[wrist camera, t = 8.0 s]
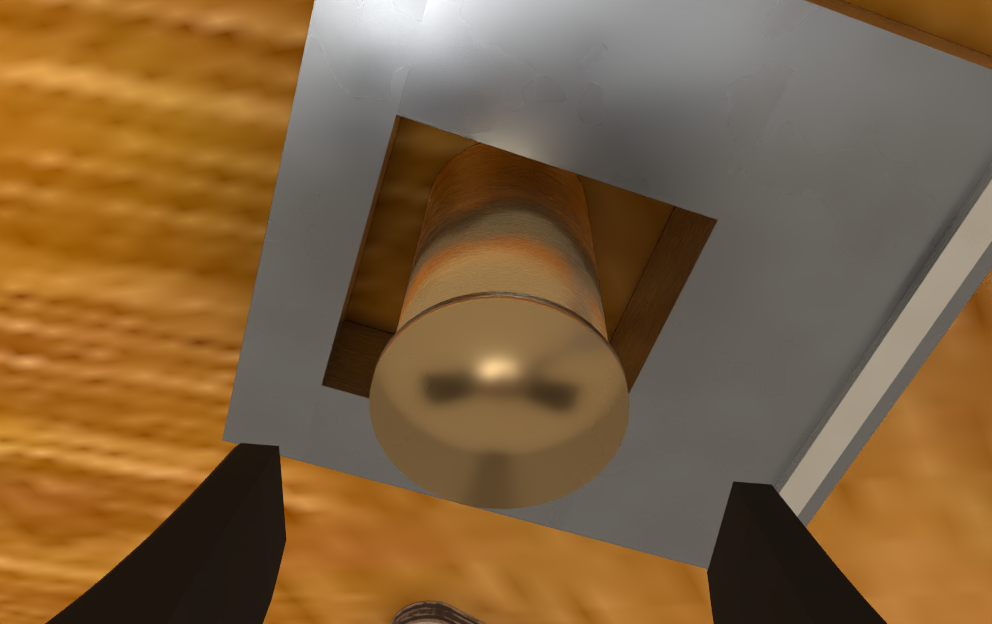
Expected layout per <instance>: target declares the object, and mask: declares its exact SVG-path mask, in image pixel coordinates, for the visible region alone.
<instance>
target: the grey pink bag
mask: <svg viewBox="0 0 992 624" xmlns="http://www.w3.org/2000/svg"><path fill="white" fill-rule="evenodd" d="M392 624H484V623H483V622H481V621H479V620H477V619H475V618H473V617H471V616H469V615H467V614H465V613H464V612H462V611H460V610H458V609H456V608H454V607H452V606H450V605H447V604H444V603H441V602H435V601H424V602H418V603H414V604H411V605H409V606H407V607H405V608H403V609H402V610H401V611H400V612H398V613H397V614H396V615H395V617H394V619H393V621H392Z"/></svg>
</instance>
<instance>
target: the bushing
mask: <svg viewBox="0 0 992 624" xmlns="http://www.w3.org/2000/svg"><path fill="white" fill-rule="evenodd" d="M369 409H370V418H371V422H372V426H373V430H374V433H375V435H376V437H377V440H378V442H379V444H380V446H381V447H382V449H383V450H384V452H385V454H386V455H387V457H388V458H389V459H390V460H391V461H392V463H393V464H394V465H395V466H396V467H397V468H398V469H399V470H400V471H401V472H402V473H403V474H404V475H405V476H406V477H408V478H409V479H410V480H412V481H413V482H414V483H416V484H417V485H419V486H420V487H422V488H424V489H426V490H427V491H429V492H431V493H433V494H435V495H438V496H440V497H442V498H444V499H447V500H450V501H453V502H456V503H459V504H464V505H468V506H473V507H480V508H488V509H515V508H525V507H530V506H536V505H540V504H544V503H547V502H551V501H554V500H556V499H559V498H561V497H564V496H566V495H568V494H570V493H572V492H574V491H576V490H578V489H579V488H581V487H582V486H584V485H585V484H587V483H588V482H590V481H591V480H592V479H593V478H594V477H596V476H597V475H598V474H599V473H600V472H601V471H602V470H603V469H604V468H605V467H606V466H607V464H608V463H609V462H610V461H611V460H612V458H613V457H614V455H615V454H616V452H617V451H618V449H619V447H620V445H621V443H622V440H623V438H624V436H625V432H626V429H627V425H628V419H629V410H630V407H629V394H628V388H627V383H626V378H625V374H624V370H623V368H622V365H621V363H620V360H619V358H618V356H617V354H616V353H615V351H614V349H613V348H612V346H611V345H610V343H609V342H608V337H607V330H606V324H605V317H604V311H603V304H602V298H601V291H600V285H599V278H598V272H597V265H596V259H595V252H594V246H593V239H592V233H591V226H590V220H589V214H588V207H587V201H586V197H585V193H584V190H583V187H582V185H581V183H580V181H579V179H578V177H577V175H576V174H575V173H573V172H570V171H567V170H564V169H561V168H558V167H555V166H552V165H549V164H546V163H542V162H539V161H536V160H533V159H530V158H527V157H524V156H521V155H518V154H515V153H512V152H509V151H506V150H503V149H500V148H497V147H494V146H491V145H487V144H484V143H479V144H476V145H474V146H471V147H469V148H467V149H466V150H464V151H462V152H460V153H459V154H458V155H456V156H455V157H454V158H452V159H451V160H450V161H449V162H448V163H447V164H446V165H445V166H444V168H443V169H442V170H441V172H440V173H439V174H438V176H437V178H436V180H435V181H434V184H433V186H432V188H431V191H430V195H429V199H428V203H427V207H426V211H425V216H424V220H423V224H422V228H421V232H420V236H419V240H418V245H417V249H416V253H415V257H414V261H413V265H412V269H411V273H410V278H409V282H408V286H407V290H406V294H405V298H404V302H403V307H402V311H401V315H400V319H399V323H398V327H397V331H396V333H395V335H394V336H393V337H392V338H391V339H390V340H389V342H388V343H387V345H386V347H385V348H384V350H383V352H382V353H381V355H380V358H379V360H378V363H377V365H376V368H375V372H374V376H373V380H372V384H371V388H370V397H369Z"/></svg>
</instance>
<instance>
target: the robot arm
mask: <svg viewBox="0 0 992 624" xmlns="http://www.w3.org/2000/svg"><path fill="white" fill-rule="evenodd" d="M285 542H286V530H285V517H284V504H283V490H282V477H281V464H280V451H279V446H274V445H261V444H249V443H240V444H239V445H237V446H236V447H235V448H234V449H233V450H232V451H231V452H230V453H229V454H228V455H227V456H226V457H225V459H224V460H223V461H222V462H221V463H220V464H219V465H218V466H217V467H216V468H215V469H214V471H213V472H212V473H211V474H210V475H209V476H208V477H207V478H206V479H205V480H204V481H203V482H202V483H201V484H200V486H199V487H198V488H197V489H196V490H195V491H194V492H193V493H192V494H191V495H190V496H189V497H188V498H187V499H186V500H185V501H184V502H183V503H182V504H181V505H180V506H179V507H178V508H177V509H176V510H175V511H174V512H173V513H172V514H171V515H170V516H169V517H168V518H167V519H166V520H165V521H164V522H163V523H162V524H161V525H160V526H159V527H158V528H157V529H156V530H155V531H154V532H153V533H152V534H151V535H150V536H149V537H148V538H147V539H146V540H145V541H143V542H142V543H141V544H140V545H139V546H138V547H137V548H136V549H135V550H133V551H132V552H131V553H130V554H129V555H128V556H127V557H126V558H125V559H123V560H122V561H121V562H120V563H119V564H118V565H117V566H116V567H115V568H113V569H112V570H111V571H110V572H109V573H108V574H107V575H106V576H104V577H103V578H102V579H101V580H100V581H99V582H97V583H96V584H95V585H94V586H92V587H91V588H90V589H89V590H88V591H86V592H85V593H84V594H83V595H82V596H80V597H79V598H78V599H77V600H75V601H74V602H73V603H72V604H70V605H69V606H68V607H66V608H65V609H64V610H62V611H61V612H60V613H59V614H57V615H56V616H55V617H53V618H52V619H51V620H49V621H48V622H47V623H45V624H263V621H264V618H265V616H266V613H267V610H268V608H269V605H270V602H271V599H272V595H273V591H274V588H275V584H276V580H277V576H278V572H279V568H280V563H281V559H282V555H283V551H284V547H285ZM707 574H708V582H709V591H710V599H711V607H712V614H713V621H714V624H887V623H886V622H885V621H884V620H883V619H882V617H881V616H880V615H879V614H878V613H877V612H876V611H875V610H874V609H873V608H872V607H871V605H870V604H869V603H868V602H867V601H866V600H865V599H864V598H863V596H862V595H861V594H860V593H859V592H858V591H857V589H856V588H855V587H854V586H853V585H852V583H851V582H850V581H849V580H848V579H847V578H846V576H845V575H844V574H843V573H842V572H841V571H840V569H839V568H838V567H837V566H836V565H835V563H834V562H833V561H832V560H831V558H830V557H829V556H828V555H827V554H826V552H825V551H824V550H823V549H822V547H821V546H820V545H819V544H818V542H817V541H816V540H815V539H814V537H813V536H812V535H811V534H810V532H809V531H808V530H807V529H806V527H805V526H804V525H803V523H802V522H801V521H800V520H799V518H798V517H797V516H796V515H795V513H794V512H793V511H792V509H791V508H790V507H789V506H788V504H787V503H786V502H785V501H784V499H783V498H782V497H781V496H780V494H779V493H778V492H777V491H776V489H775V488H774V487H773V486H772V484H760V483H747V482H734V481H733V484H732V487H731V491H730V494H729V498H728V501H727V505H726V508H725V512H724V515H723V519H722V522H721V526H720V529H719V533H718V536H717V540H716V543H715V547H714V550H713V554H712V557H711V561H710V564H709V568H708V571H707Z"/></svg>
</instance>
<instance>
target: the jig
mask: <svg viewBox="0 0 992 624" xmlns="http://www.w3.org/2000/svg"><path fill="white" fill-rule="evenodd" d="M401 116H402V117H405V118H408V119H411V120H414V121H417V122H420V123H423V124H426V125H429V126H432V127H435V128H439V129H442V130H445V131H448V132H451V133H454V134H457V135H460V136H463V137H466V138H469V139H472V140H475V141H478V142H481V143H484V144H487V145H491V146H494V147H497V148H500V149H503V150H506V151H509V152H512V153H515V154H518V155H521V156H524V157H527V158H530V159H533V160H536V161H539V162H542V163H546V164H549V165H552V166H555V167H558V168H561V169H564V170H567V171H570V172H573V173H576V174H579V175H582V176H585V177H588V178H591V179H594V180H598V181H601V182H604V183H607V184H610V185H613V186H616V187H619V188H622V189H625V190H628V191H631V192H634V193H637V194H640V195H643V196H646V197H650V198H653V199H656V200H659V201H662V202H665V203H668V204H671V205H674V206H675V208H674V210H673V212H672V214H671V216H670V218H669V221H668V223H667V225H666V227H665V229H664V231H663V233H662V235H661V237H660V239H659V241H658V244H657V246H656V248H655V250H654V252H653V254H652V256H651V258H650V260H649V262H648V264H647V266H646V269H645V271H644V273H643V275H642V277H641V279H640V281H639V283H638V285H637V287H636V289H635V292H634V294H633V296H632V298H631V300H630V302H629V304H628V306H627V308H626V310H625V312H624V315H623V317H622V319H621V321H620V323H619V325H618V327H617V329H616V331H615V333H614V335H613V338H612V340H611V342H610V345H611V346H612V348H613V349H614V351H615V353H616V354H617V356H618V358H619V360H620V363H621V365H622V368H623V370H624V374H625V378H626V383H627V388H628V394H629V407H630V410H629V419H628V425H627V429H626V432H625V436H624V438H623V440H622V443H621V445H620V447H619V449H618V451H617V452H616V454H615V455H614V457H613V458H612V460H611V461H610V462H609V463H608V464H607V466H606V467H605V468H604V469H603V470H602V471H601V472H600V473H599V474H598V475H597V476H596V477H594V478H593V479H592V480H591V481H590V482H588V483H587V484H585V485H584V486H582V487H581V488H579V489H578V490H576V491H574V492H572V493H570V494H568V495H566V496H564V497H561V498H559V499H556V500H554V501H551V502H547V503H544V504H540V505H536V506H530V507H525V508H515V509H488V508H480V507H476V508H479V509H483V510H487V511H491V512H494V513H498V514H502V515H506V516H509V517H513V518H517V519H521V520H525V521H528V522H532V523H536V524H540V525H543V526H547V527H551V528H555V529H558V530H562V531H566V532H570V533H573V534H577V535H581V536H585V537H589V538H592V539H596V540H600V541H604V542H607V543H611V544H615V545H619V546H622V547H626V548H630V549H634V550H637V551H641V552H645V553H649V554H653V555H656V556H660V557H664V558H668V559H671V560H675V561H679V562H683V563H686V564H690V565H694V566H698V567H701V568H705V569H708V568H709V564H710V561H711V557H712V554H713V550H714V547H715V543H716V540H717V536H718V533H719V529H720V526H721V522H722V519H723V515H724V512H725V508H726V505H727V501H728V498H729V494H730V491H731V487H732V484H733V481H734V482H747V483H760V484H772V486H773V487H774V488H775V489H776V491H777V492H778V493H779V494H780V496H781V497H782V498H783V499H784V501H785V502H786V503H787V504H788V506H789V507H790V508H791V509H792V511H793V512H794V513H795V515H796V516H797V517H798V518H799V520H800V521H801V522H802V523H803V525H804V526H805V527H806V526H807V525H808V523H809V522H810V521H811V519H812V518H813V516H814V515H815V514H816V512H817V511H818V509H819V508H820V507H821V505H822V504H823V502H824V501H825V500H826V498H827V497H828V496H829V494H830V493H831V491H832V490H833V489H834V487H835V486H836V484H837V483H838V482H839V480H840V479H841V477H842V476H843V475H844V473H845V472H846V470H847V469H848V468H849V466H850V465H851V464H852V462H853V461H854V459H855V458H856V457H857V455H858V454H859V452H860V451H861V450H862V448H863V447H864V445H865V444H866V443H867V441H868V440H869V438H870V437H871V436H872V434H873V433H874V432H875V430H876V429H877V427H878V426H879V425H880V423H881V422H882V420H883V419H884V418H885V416H886V415H887V413H888V412H889V411H890V409H891V408H892V406H893V405H894V404H895V402H896V401H897V400H898V398H899V397H900V395H901V394H902V393H903V391H904V390H905V388H906V387H907V386H908V384H909V383H910V381H911V380H912V379H913V377H914V376H915V374H916V373H917V372H918V370H919V369H920V368H921V366H922V365H923V363H924V362H925V361H926V359H927V358H928V356H929V355H930V354H931V352H932V351H933V349H934V348H935V347H936V345H937V344H938V342H939V341H940V340H941V338H942V337H943V336H944V334H945V333H946V331H947V330H948V329H949V327H950V326H951V324H952V323H953V322H954V320H955V319H956V317H957V316H958V315H959V313H960V312H961V310H962V309H963V308H964V306H965V305H966V304H967V302H968V301H969V299H970V298H971V297H972V295H973V294H974V292H975V291H976V290H977V288H978V287H979V285H980V284H981V283H982V281H983V280H984V278H985V277H986V276H987V274H988V273H989V272H990V270H991V269H992V57H990V56H988V55H985V54H982V53H980V52H977V51H974V50H972V49H969V48H966V47H964V46H961V45H958V44H956V43H953V42H950V41H948V40H945V39H942V38H940V37H937V36H934V35H931V34H929V33H926V32H923V31H921V30H918V29H915V28H913V27H910V26H907V25H905V24H902V23H899V22H897V21H894V20H891V19H889V18H886V17H883V16H881V15H878V14H875V13H873V12H870V11H867V10H864V9H862V8H859V7H856V6H854V5H851V4H848V3H846V2H843V1H840V0H315V1H314V6H313V11H312V16H311V20H310V25H309V30H308V35H307V39H306V44H305V49H304V54H303V58H302V63H301V68H300V73H299V77H298V82H297V87H296V92H295V96H294V101H293V106H292V111H291V115H290V120H289V125H288V130H287V134H286V139H285V144H284V149H283V153H282V158H281V163H280V168H279V172H278V177H277V182H276V187H275V191H274V196H273V201H272V206H271V211H270V215H269V220H268V225H267V230H266V234H265V239H264V244H263V249H262V253H261V258H260V263H259V268H258V272H257V277H256V282H255V287H254V291H253V296H252V301H251V306H250V310H249V315H248V320H247V325H246V329H245V334H244V339H243V344H242V348H241V353H240V358H239V363H238V367H237V372H236V377H235V382H234V386H233V391H232V396H231V401H230V405H229V410H228V415H227V420H226V424H225V429H224V434H223V439H222V440H223V441H227V442H231V443H235V444H238V445H239V444H240V443H249V444H261V445H274V446H279V451H280V456H284V457H287V458H291V459H295V460H299V461H302V462H306V463H310V464H314V465H317V466H321V467H325V468H329V469H333V470H336V471H340V472H344V473H348V474H351V475H355V476H359V477H363V478H366V479H370V480H374V481H378V482H381V483H385V484H389V485H393V486H397V487H400V488H404V489H408V490H412V491H415V492H419V493H423V494H427V495H430V496H434V497H438V498H442V497H440V496H438V495H435V494H433V493H431V492H429V491H427V490H426V489H424V488H422V487H420V486H419V485H417V484H416V483H414V482H413V481H412V480H410V479H409V478H408V477H406V476H405V475H404V474H403V473H402V472H401V471H400V470H399V469H398V468H397V467H396V466H395V465H394V464H393V463H392V461H391V460H390V459H389V458H388V457H387V455H386V454H385V452H384V450H383V449H382V447H381V446H380V444H379V442H378V440H377V437H376V435H375V433H374V430H373V426H372V422H371V418H370V409H369V397H370V388H371V384H372V380H373V376H374V372H375V368H376V365H377V363H378V360H379V358H380V355H381V353H382V352H383V350H384V348H385V347H386V345H387V343H388V342H389V340H390V339H391V338H392V337H393V336H394V334H390V333H387V332H384V331H380V330H377V329H373V328H370V327H366V326H363V325H359V324H356V323H353V322H349V321H346V320H344V319H345V316H346V312H347V309H348V305H349V301H350V298H351V294H352V291H353V287H354V284H355V280H356V276H357V273H358V269H359V266H360V262H361V259H362V255H363V251H364V248H365V244H366V241H367V237H368V234H369V230H370V226H371V223H372V219H373V216H374V212H375V209H376V205H377V201H378V198H379V194H380V191H381V187H382V184H383V180H384V176H385V173H386V169H387V166H388V162H389V159H390V155H391V151H392V148H393V144H394V141H395V137H396V134H397V130H398V126H399V123H400V119H401ZM442 499H444V498H442ZM445 500H447V499H445ZM449 501H450V500H449ZM472 507H473V506H472Z"/></svg>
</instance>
